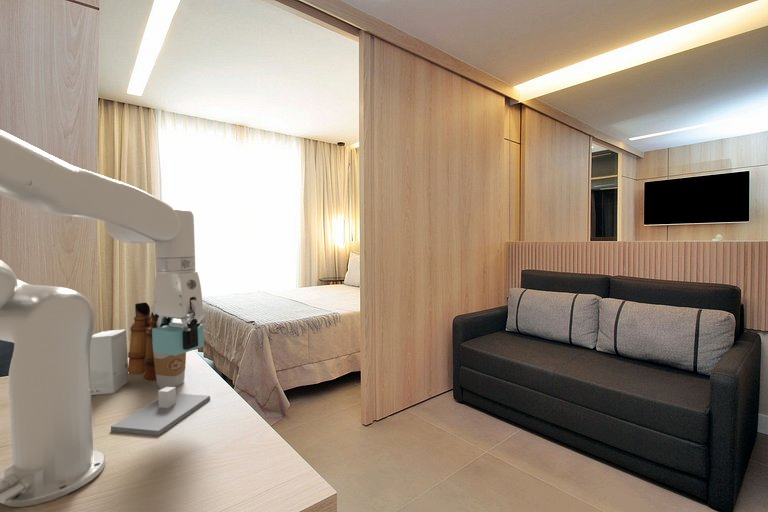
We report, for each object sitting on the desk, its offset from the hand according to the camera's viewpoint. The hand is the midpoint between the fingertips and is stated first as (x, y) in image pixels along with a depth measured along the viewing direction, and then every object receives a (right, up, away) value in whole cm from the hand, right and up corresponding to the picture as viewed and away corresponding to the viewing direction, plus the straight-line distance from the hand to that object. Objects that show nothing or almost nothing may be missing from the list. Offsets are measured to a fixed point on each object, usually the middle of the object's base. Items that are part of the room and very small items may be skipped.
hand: (178, 345), depth 78 cm
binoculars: (-23, -15, +26) cm, 38 cm away
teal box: (0, -1, 0) cm, 1 cm away
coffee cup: (-12, -15, +18) cm, 26 cm away
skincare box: (-27, -15, +15) cm, 34 cm away
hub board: (-4, -16, +1) cm, 16 cm away
